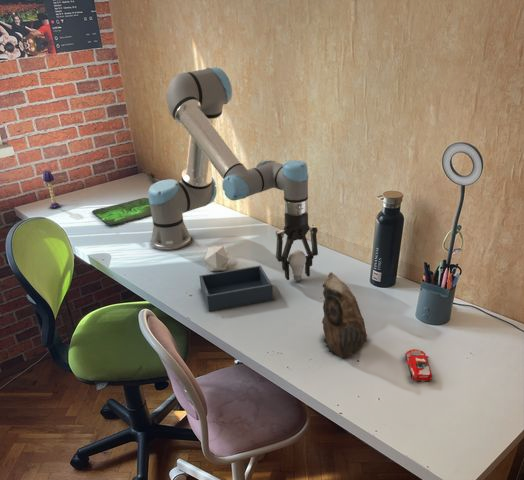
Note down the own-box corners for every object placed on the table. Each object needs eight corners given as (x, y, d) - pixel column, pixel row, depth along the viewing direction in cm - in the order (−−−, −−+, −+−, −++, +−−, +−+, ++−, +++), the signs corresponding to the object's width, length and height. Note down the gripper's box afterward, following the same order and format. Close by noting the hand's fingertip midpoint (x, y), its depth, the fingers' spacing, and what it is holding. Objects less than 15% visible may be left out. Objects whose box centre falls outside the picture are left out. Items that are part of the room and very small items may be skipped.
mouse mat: (146, 197, 266) (145, 195, 265) (167, 211, 251) (166, 209, 250) (90, 212, 254) (90, 210, 253) (109, 227, 239) (108, 225, 238)
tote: (201, 290, 191) (199, 275, 188) (261, 279, 195) (260, 265, 192) (209, 311, 180) (207, 296, 176) (273, 299, 183) (272, 284, 180)
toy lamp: (60, 204, 265) (51, 168, 255) (61, 207, 261) (52, 171, 252) (50, 206, 263) (40, 170, 254) (51, 209, 260) (41, 173, 250)
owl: (344, 362, 154) (346, 298, 143) (307, 346, 161) (306, 284, 150) (369, 341, 162) (373, 279, 150) (332, 326, 169) (334, 266, 157)
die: (220, 278, 198) (234, 253, 196) (198, 266, 197) (211, 240, 195) (222, 275, 207) (235, 251, 204) (200, 263, 206) (213, 239, 203)
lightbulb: (308, 277, 195) (308, 248, 188) (303, 285, 190) (303, 256, 184) (291, 275, 196) (290, 246, 190) (286, 283, 192) (285, 254, 185)
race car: (403, 355, 156) (404, 343, 153) (423, 354, 155) (425, 342, 153) (411, 385, 145) (412, 372, 143) (432, 385, 145) (434, 372, 142)
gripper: (269, 220, 174) (272, 286, 188) (329, 211, 178) (328, 276, 191) (263, 212, 180) (266, 276, 194) (321, 203, 184) (320, 267, 197)
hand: (297, 276), depth 192 cm, fingers open, 6 cm apart
